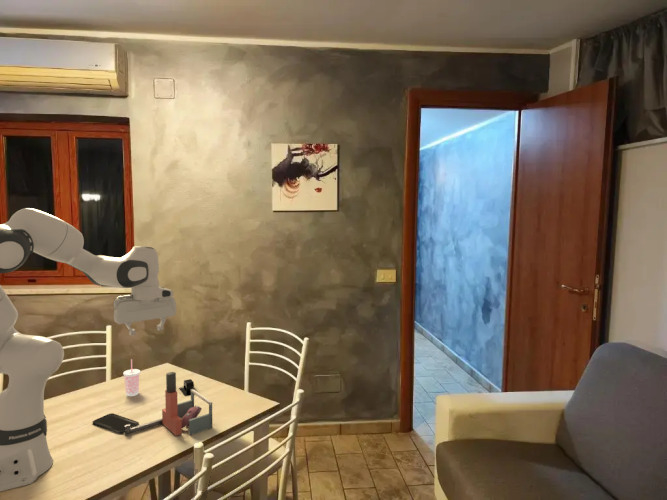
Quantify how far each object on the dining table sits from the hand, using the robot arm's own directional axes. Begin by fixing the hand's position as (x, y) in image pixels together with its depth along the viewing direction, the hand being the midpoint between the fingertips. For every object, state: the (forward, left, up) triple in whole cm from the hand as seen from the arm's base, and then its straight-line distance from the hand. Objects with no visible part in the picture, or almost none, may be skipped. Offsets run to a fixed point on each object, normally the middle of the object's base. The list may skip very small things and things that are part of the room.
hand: (146, 332), depth 158 cm
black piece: (+21, +14, -32) cm, 41 cm away
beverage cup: (+3, +25, -31) cm, 40 cm away
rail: (-3, -6, -31) cm, 32 cm away
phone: (-10, +3, -32) cm, 33 cm away
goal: (+10, -13, -31) cm, 35 cm away
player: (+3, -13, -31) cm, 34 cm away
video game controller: (+9, -13, -31) cm, 35 cm away
